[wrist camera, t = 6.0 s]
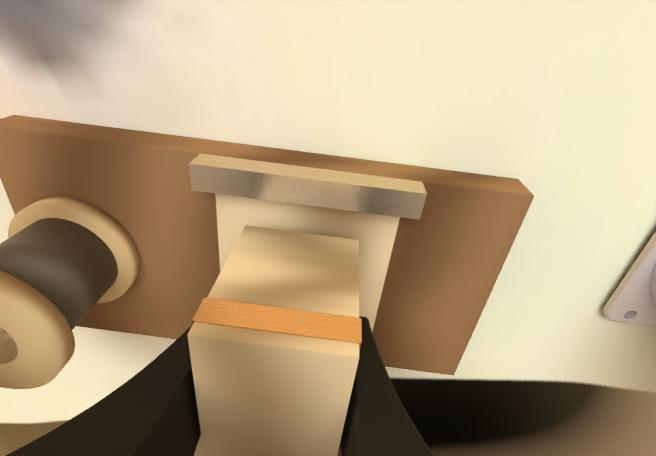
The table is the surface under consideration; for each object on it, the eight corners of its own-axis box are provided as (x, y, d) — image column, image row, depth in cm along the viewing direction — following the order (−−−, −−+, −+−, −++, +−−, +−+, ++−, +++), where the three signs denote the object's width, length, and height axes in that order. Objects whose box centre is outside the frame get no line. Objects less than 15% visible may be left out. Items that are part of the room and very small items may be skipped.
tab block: (360, 238, 13) (362, 356, 8) (339, 355, 16) (331, 484, 11) (243, 223, 13) (185, 333, 8) (245, 343, 16) (204, 466, 11)
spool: (129, 204, 14) (31, 287, 10) (148, 299, 17) (77, 397, 13) (4, 188, 14) (-148, 264, 10) (42, 285, 17) (-65, 378, 13)
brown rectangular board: (518, 179, 14) (546, 209, 12) (447, 351, 19) (458, 393, 17) (13, 115, 14) (-48, 133, 12) (77, 303, 19) (43, 339, 17)
